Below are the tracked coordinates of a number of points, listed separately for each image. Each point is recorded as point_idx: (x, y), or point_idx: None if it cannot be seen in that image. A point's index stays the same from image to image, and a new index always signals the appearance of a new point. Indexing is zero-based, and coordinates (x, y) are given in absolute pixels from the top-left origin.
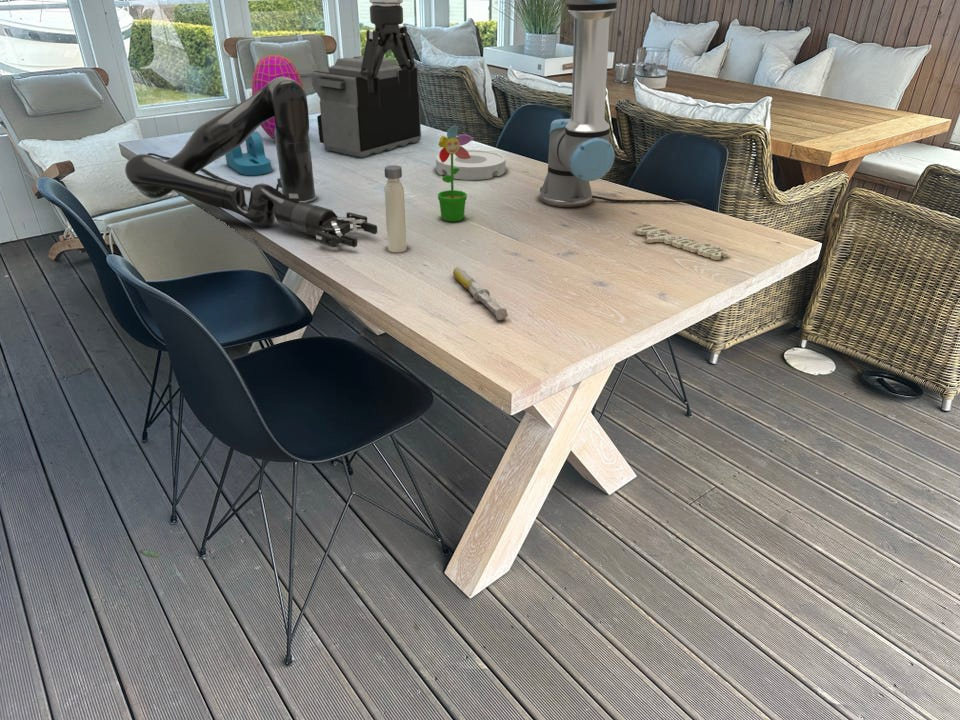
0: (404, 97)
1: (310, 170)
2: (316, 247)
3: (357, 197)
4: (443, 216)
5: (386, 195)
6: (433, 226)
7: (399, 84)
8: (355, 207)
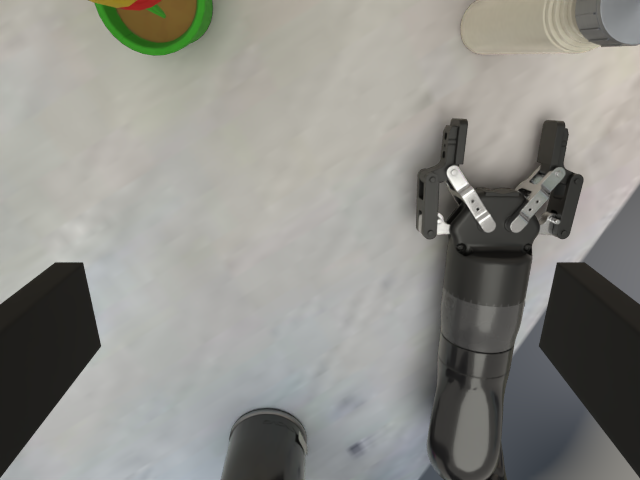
0: (86, 308)
1: (250, 472)
2: None
3: (177, 345)
4: (209, 20)
5: None
6: (269, 27)
7: (34, 427)
8: (246, 307)
